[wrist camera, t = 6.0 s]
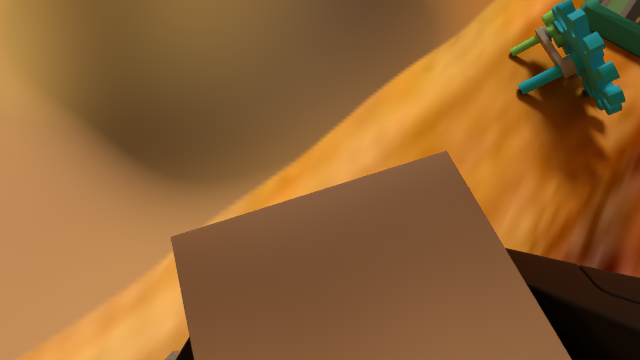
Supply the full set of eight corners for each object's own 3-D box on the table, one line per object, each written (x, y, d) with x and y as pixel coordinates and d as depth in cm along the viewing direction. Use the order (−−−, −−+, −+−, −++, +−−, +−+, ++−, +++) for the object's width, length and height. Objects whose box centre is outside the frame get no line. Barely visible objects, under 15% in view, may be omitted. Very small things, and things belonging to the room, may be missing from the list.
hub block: (403, 378, 13) (637, 468, 4) (284, 433, 12) (262, 714, 3) (355, 260, 15) (446, 150, 6) (248, 300, 14) (171, 236, 5)
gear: (637, 128, 27) (633, 48, 20) (554, 158, 30) (528, 97, 23) (575, 45, 33) (556, -38, 26) (511, 77, 36) (481, 11, 29)
